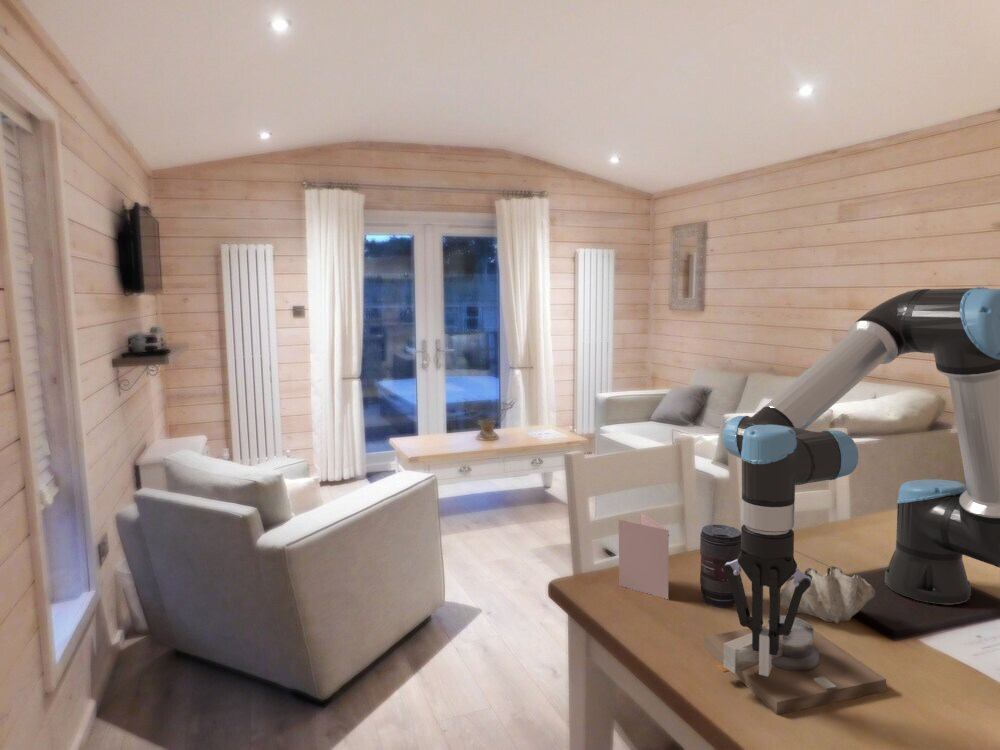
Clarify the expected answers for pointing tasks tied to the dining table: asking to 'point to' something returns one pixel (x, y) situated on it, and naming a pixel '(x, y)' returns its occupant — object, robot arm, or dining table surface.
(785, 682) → the mount
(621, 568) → the greeting card
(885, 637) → the dining table surface
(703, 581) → the camera lens
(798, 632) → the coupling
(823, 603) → the seashell
